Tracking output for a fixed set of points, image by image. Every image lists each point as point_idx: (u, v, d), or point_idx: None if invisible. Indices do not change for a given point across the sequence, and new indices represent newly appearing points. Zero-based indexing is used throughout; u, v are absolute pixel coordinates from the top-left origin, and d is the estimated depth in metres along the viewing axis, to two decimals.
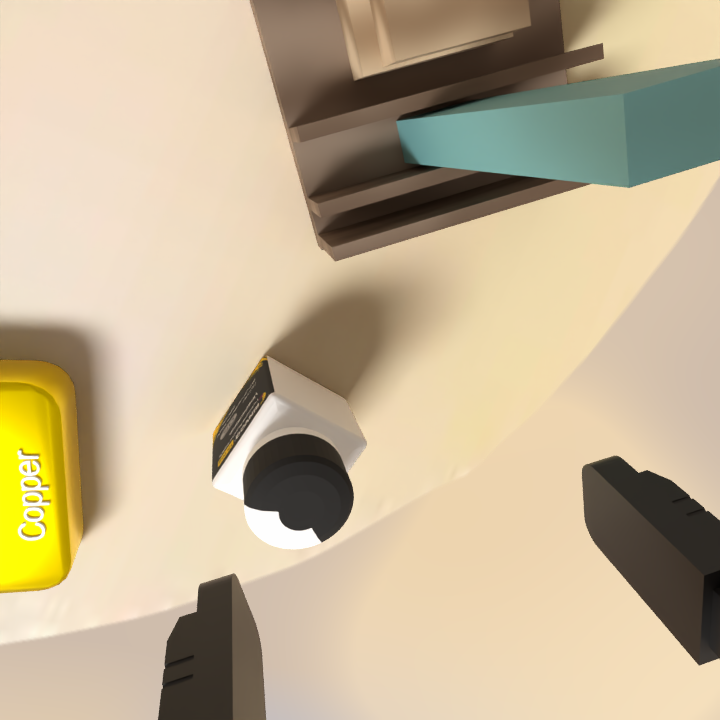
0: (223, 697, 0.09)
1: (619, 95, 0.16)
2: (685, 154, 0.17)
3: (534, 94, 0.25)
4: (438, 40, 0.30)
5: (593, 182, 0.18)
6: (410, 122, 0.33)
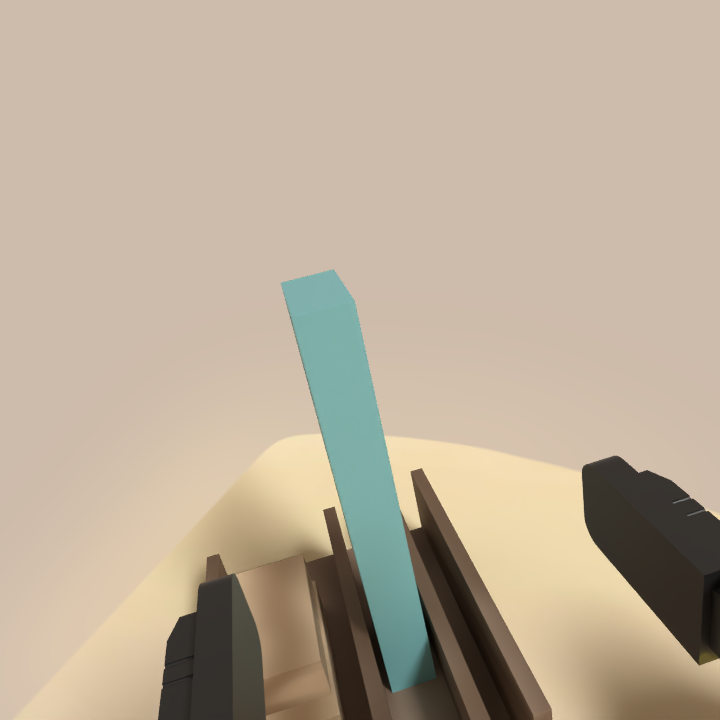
0: (223, 697, 0.09)
1: (293, 321, 0.22)
2: (335, 290, 0.24)
3: (336, 487, 0.29)
4: (305, 623, 0.31)
5: (362, 341, 0.23)
6: (386, 656, 0.30)
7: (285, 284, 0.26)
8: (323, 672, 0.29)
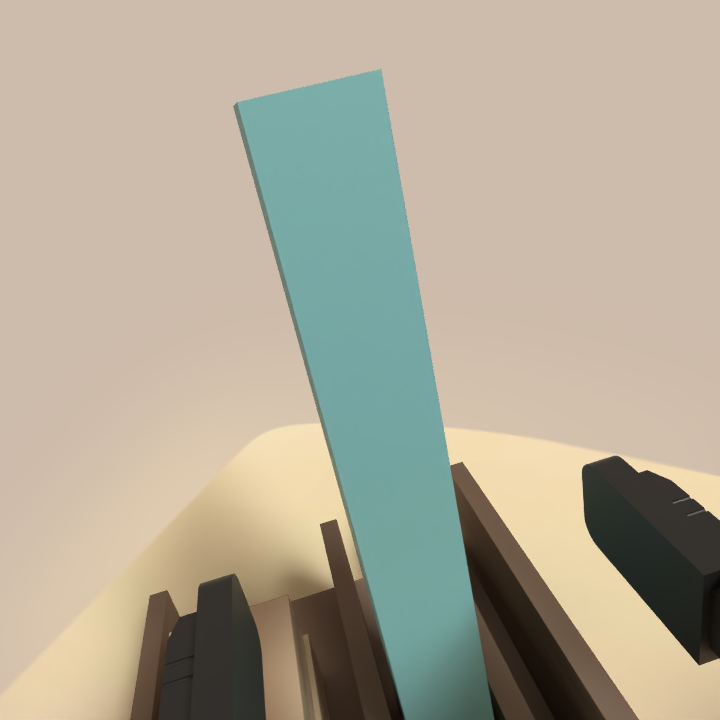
0: (223, 697, 0.09)
1: (241, 112, 0.10)
2: None
3: None
4: None
5: (397, 173, 0.11)
6: None
7: None
8: None
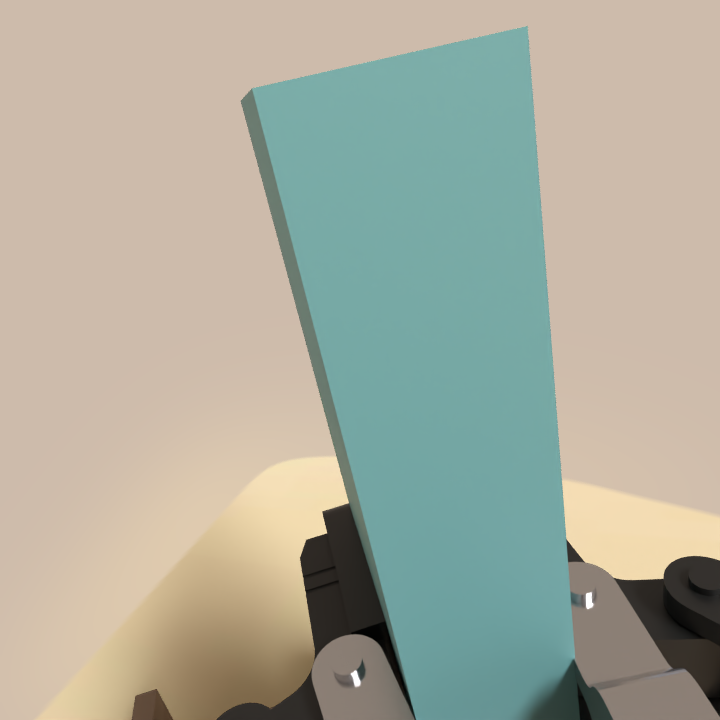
0: (372, 594, 0.11)
1: (260, 108, 0.05)
2: None
3: None
4: None
5: (538, 219, 0.06)
6: None
7: None
8: None
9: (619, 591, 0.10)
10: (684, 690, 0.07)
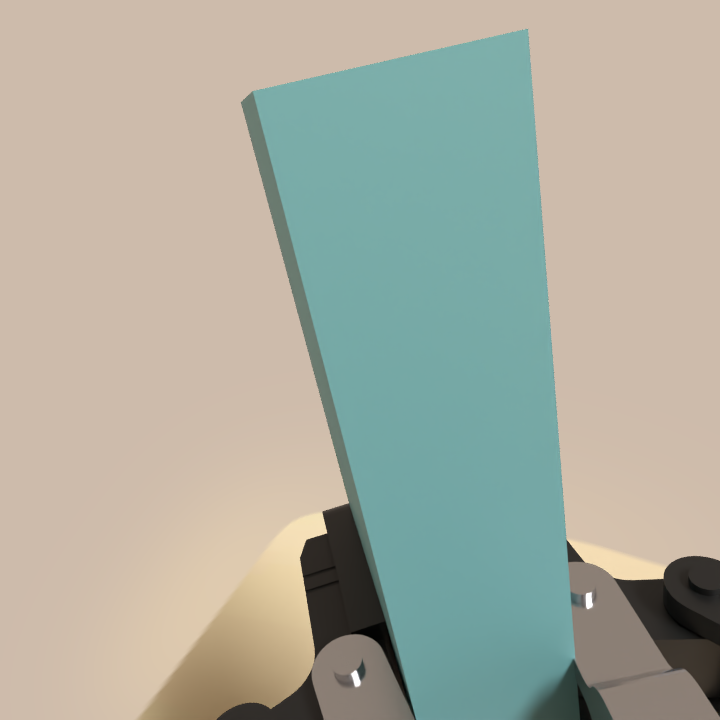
0: (372, 594, 0.11)
1: (261, 111, 0.05)
2: None
3: None
4: None
5: (538, 221, 0.06)
6: None
7: None
8: None
9: (619, 591, 0.10)
10: (684, 690, 0.07)
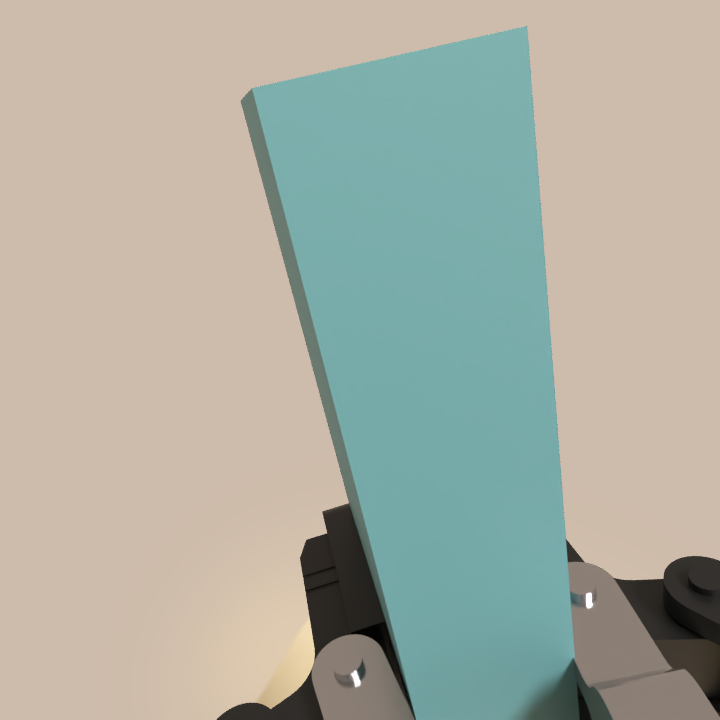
0: (372, 594, 0.11)
1: (260, 108, 0.05)
2: None
3: None
4: None
5: (538, 219, 0.06)
6: None
7: None
8: None
9: (619, 591, 0.10)
10: (684, 690, 0.07)
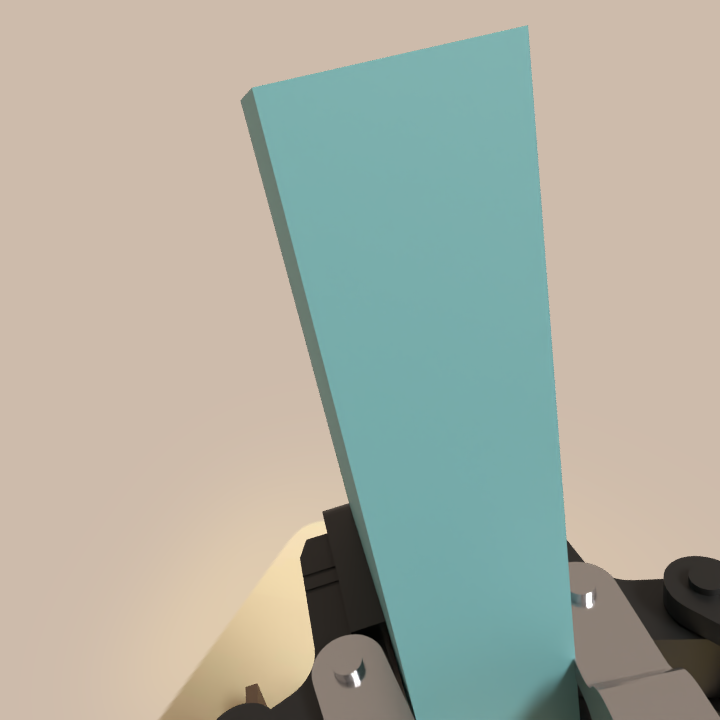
0: (372, 594, 0.11)
1: (260, 108, 0.05)
2: None
3: None
4: None
5: (538, 219, 0.06)
6: None
7: None
8: None
9: (619, 591, 0.10)
10: (684, 690, 0.07)
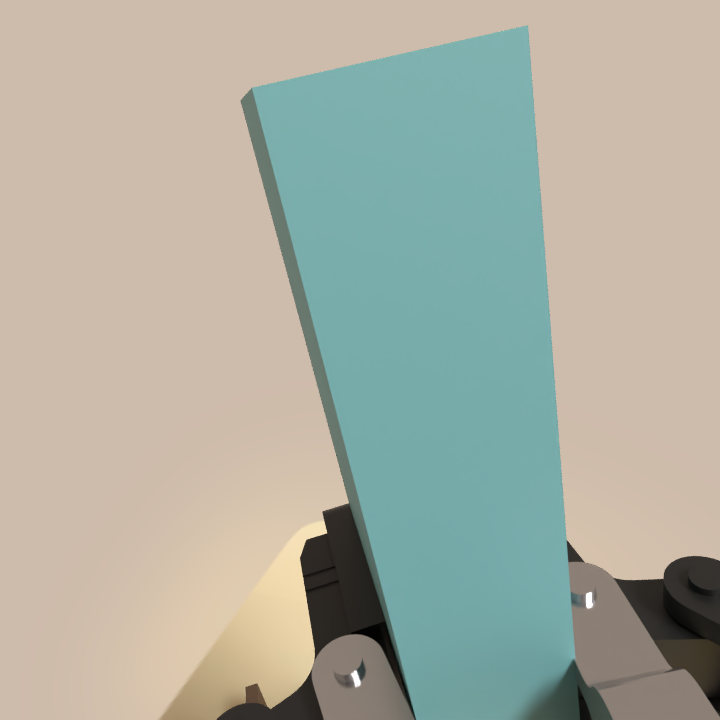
0: (372, 594, 0.11)
1: (260, 108, 0.05)
2: None
3: None
4: None
5: (538, 219, 0.06)
6: None
7: None
8: None
9: (619, 591, 0.10)
10: (684, 690, 0.07)
